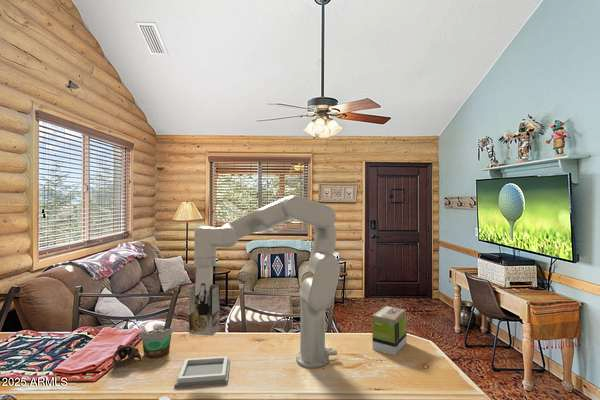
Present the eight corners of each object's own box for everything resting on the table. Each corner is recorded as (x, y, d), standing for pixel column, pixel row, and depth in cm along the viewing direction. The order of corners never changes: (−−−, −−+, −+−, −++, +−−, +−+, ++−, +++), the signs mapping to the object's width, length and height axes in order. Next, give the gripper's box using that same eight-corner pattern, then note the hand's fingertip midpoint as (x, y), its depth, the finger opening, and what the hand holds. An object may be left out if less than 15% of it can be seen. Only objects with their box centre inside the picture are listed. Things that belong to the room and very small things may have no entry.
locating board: (229, 361, 123) (229, 354, 123) (227, 383, 108) (227, 376, 108) (183, 364, 121) (183, 358, 121) (174, 387, 106) (174, 380, 106)
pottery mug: (148, 363, 123) (141, 349, 118) (124, 383, 116) (116, 370, 112) (131, 347, 129) (125, 333, 125) (108, 365, 123) (100, 352, 118)
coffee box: (220, 329, 117) (220, 284, 117) (212, 336, 110) (212, 289, 110) (197, 326, 119) (197, 283, 119) (188, 334, 112) (188, 287, 112)
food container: (140, 363, 121) (140, 336, 122) (139, 356, 127) (139, 330, 127) (174, 356, 127) (175, 330, 127) (173, 349, 133) (173, 325, 133)
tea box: (384, 337, 146) (385, 304, 146) (407, 343, 140) (407, 309, 140) (371, 349, 134) (371, 314, 134) (395, 356, 128) (395, 319, 128)
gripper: (198, 257, 123) (197, 303, 122) (189, 266, 105) (189, 320, 105) (218, 256, 124) (217, 302, 124) (213, 266, 107) (212, 319, 107)
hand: (204, 310), depth 114 cm, fingers closed on coffee box, 8 cm apart
